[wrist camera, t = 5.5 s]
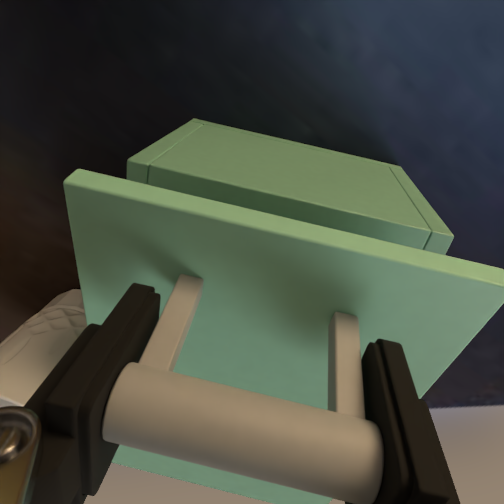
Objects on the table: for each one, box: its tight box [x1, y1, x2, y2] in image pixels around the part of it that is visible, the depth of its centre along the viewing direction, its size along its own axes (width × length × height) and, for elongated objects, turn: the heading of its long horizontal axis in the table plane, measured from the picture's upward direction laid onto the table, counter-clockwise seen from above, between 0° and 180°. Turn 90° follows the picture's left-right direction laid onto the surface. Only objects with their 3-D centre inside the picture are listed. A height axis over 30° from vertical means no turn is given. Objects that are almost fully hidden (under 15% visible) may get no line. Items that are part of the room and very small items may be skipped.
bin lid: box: [63, 169, 504, 504], centre depth 13 cm, size 17×12×5 cm, turn 169°
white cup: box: [0, 289, 87, 407], centre depth 25 cm, size 8×8×10 cm
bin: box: [127, 118, 454, 255], centre depth 21 cm, size 17×12×9 cm
